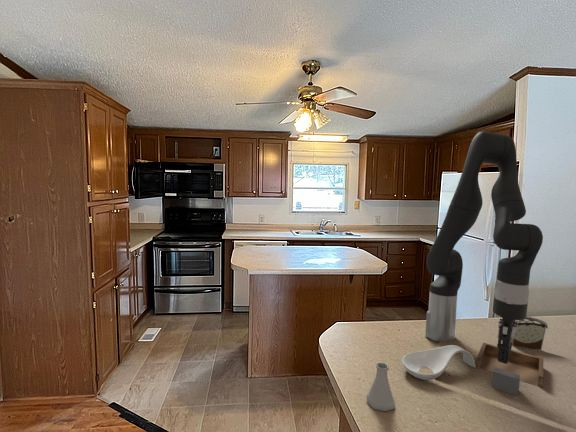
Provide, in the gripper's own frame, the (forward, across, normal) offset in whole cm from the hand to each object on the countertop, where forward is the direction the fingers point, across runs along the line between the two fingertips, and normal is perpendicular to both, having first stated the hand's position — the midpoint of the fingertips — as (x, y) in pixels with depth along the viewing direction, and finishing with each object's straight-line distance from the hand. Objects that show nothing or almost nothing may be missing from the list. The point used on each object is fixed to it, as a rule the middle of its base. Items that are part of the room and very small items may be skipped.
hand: (504, 355), depth 89 cm
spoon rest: (+11, +1, -16) cm, 19 cm away
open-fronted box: (+10, -13, +1) cm, 17 cm away
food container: (+11, -37, +2) cm, 39 cm away
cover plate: (+11, 0, +1) cm, 11 cm away
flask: (+11, +26, -23) cm, 37 cm away
